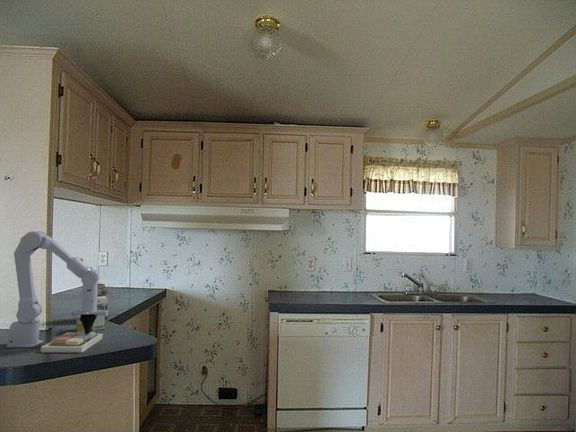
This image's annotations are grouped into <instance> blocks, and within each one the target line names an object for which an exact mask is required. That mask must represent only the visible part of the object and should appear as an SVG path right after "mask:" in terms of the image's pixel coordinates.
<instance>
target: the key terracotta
mask: <svg viewBox="0 0 576 432" xmlns="http://www.w3.org/2000/svg"><path fill="white" fill-rule="evenodd" d="M71 338H72V336H62V335H59V336H57V337H56V338H54V339H53V340H54V343H66V341H67V340H69V339H71Z"/></svg>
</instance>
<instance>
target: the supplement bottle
mask: <svg viewBox="0 0 576 432" xmlns="http://www.w3.org/2000/svg"><path fill="white" fill-rule="evenodd" d="M79 310H81V308H80V309H79ZM80 317H81V315H76V324H75V325H76V327H75V332H79V333H83V332H85V331H84V327H83V325H82V323H81V321H80Z"/></svg>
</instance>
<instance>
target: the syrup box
mask: <svg viewBox="0 0 576 432" xmlns="http://www.w3.org/2000/svg"><path fill="white" fill-rule="evenodd" d="M108 299H109V298H108V296H107V295H105V296H98V297H97V310H108ZM107 316H108V315H107ZM107 316H97V318H96V319H95V321H94V323H93V326H92V328H91V331H97V330H99V331H100V330H106V329H107Z"/></svg>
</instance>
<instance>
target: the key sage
mask: <svg viewBox="0 0 576 432" xmlns="http://www.w3.org/2000/svg"><path fill="white" fill-rule="evenodd" d="M82 334H85V332H83V333H82ZM89 334H90V338H92V337H93V336H95V334H96V331H91V332H90V333H89Z"/></svg>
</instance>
